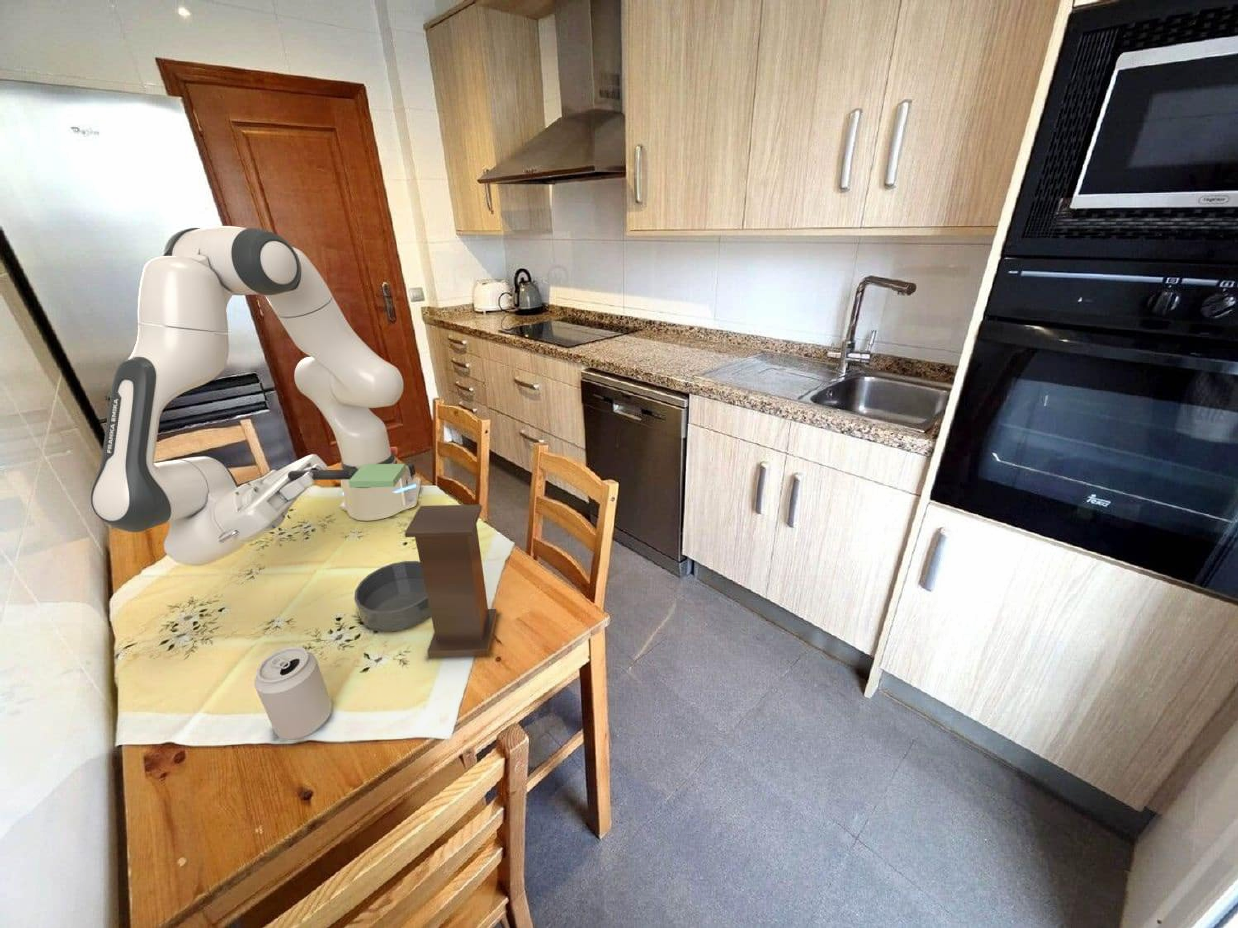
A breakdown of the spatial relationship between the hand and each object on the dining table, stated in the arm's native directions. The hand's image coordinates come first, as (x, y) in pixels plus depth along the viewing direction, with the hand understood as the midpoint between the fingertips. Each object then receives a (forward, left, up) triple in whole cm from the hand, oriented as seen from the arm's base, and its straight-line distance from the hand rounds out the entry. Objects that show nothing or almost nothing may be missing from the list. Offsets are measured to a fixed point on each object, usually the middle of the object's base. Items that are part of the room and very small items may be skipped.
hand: (316, 472), depth 82 cm
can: (+23, +2, -30) cm, 38 cm away
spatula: (0, +4, -1) cm, 5 cm away
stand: (+7, +22, -30) cm, 38 cm away
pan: (-2, +8, -30) cm, 31 cm away
